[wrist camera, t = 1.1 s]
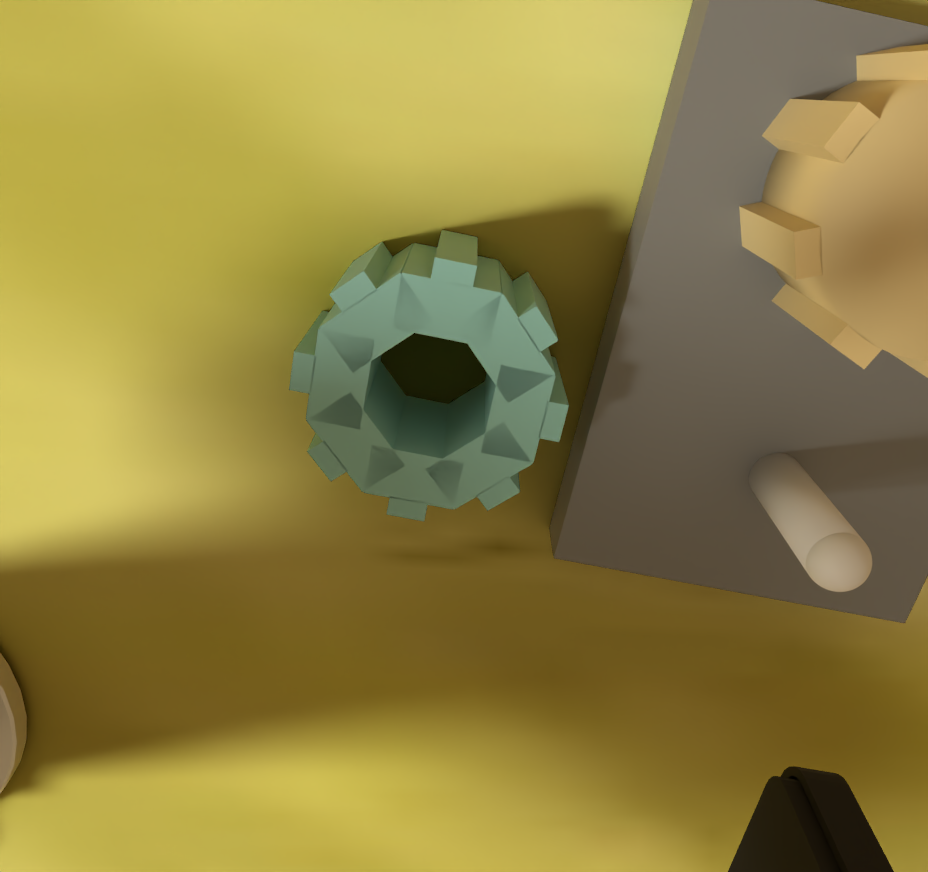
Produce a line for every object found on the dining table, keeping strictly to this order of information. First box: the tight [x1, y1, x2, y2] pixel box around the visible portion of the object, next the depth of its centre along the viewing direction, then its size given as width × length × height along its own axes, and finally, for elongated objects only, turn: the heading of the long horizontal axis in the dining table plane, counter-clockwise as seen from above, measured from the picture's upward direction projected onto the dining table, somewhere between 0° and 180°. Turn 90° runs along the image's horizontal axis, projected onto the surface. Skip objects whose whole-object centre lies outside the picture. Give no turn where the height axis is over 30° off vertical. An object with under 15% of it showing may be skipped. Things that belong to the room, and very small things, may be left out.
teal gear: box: [289, 230, 569, 521], centre depth 25 cm, size 8×8×4 cm
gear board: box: [549, 0, 928, 623], centre depth 23 cm, size 17×12×8 cm
